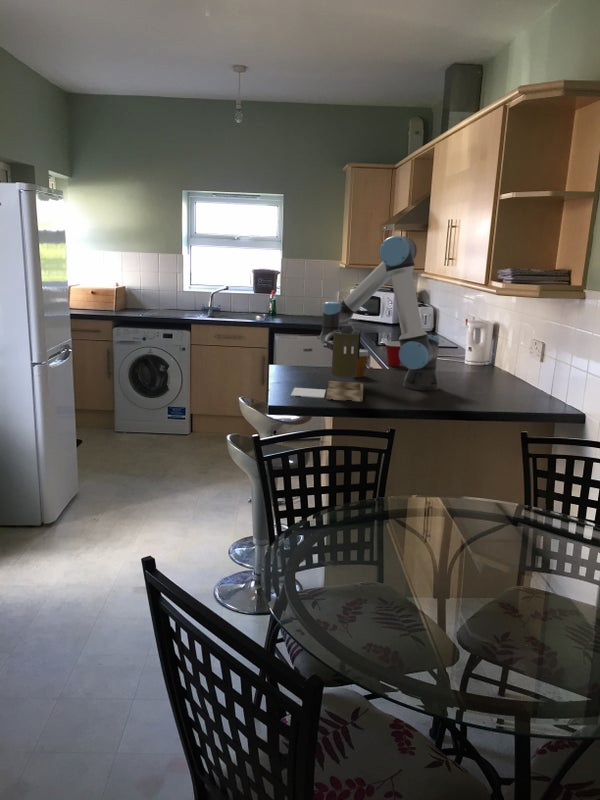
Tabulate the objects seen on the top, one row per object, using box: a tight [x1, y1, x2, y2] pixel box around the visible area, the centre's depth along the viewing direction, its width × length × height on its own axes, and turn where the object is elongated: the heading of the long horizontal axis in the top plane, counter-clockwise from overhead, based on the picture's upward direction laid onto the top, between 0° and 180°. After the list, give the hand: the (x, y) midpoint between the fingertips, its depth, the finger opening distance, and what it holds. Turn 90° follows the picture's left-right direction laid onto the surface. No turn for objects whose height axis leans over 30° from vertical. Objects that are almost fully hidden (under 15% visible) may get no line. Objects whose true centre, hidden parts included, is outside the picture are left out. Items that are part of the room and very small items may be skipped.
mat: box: [290, 387, 327, 399], centre depth 262 cm, size 13×14×1 cm
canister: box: [330, 324, 362, 379], centre depth 257 cm, size 11×10×20 cm
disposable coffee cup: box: [356, 348, 369, 378], centre depth 302 cm, size 10×10×12 cm
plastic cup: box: [384, 340, 401, 368], centre depth 333 cm, size 11×11×12 cm
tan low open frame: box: [325, 380, 364, 402], centre depth 260 cm, size 14×16×4 cm
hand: (348, 350), depth 251 cm, fingers closed on canister, 2 cm apart
